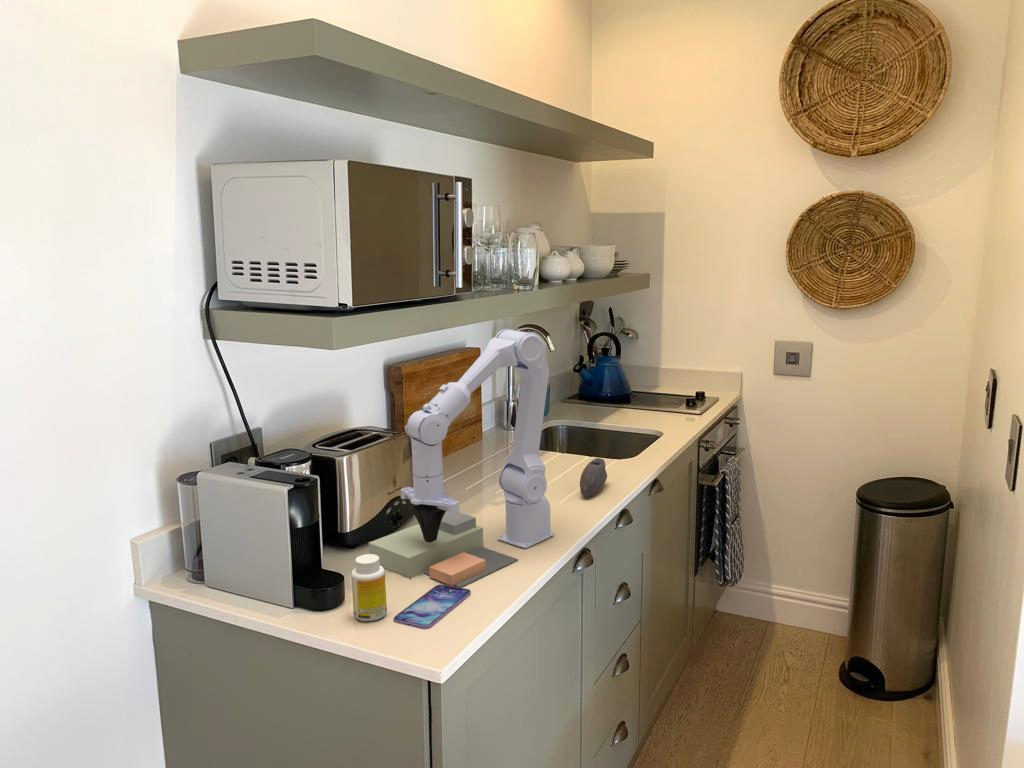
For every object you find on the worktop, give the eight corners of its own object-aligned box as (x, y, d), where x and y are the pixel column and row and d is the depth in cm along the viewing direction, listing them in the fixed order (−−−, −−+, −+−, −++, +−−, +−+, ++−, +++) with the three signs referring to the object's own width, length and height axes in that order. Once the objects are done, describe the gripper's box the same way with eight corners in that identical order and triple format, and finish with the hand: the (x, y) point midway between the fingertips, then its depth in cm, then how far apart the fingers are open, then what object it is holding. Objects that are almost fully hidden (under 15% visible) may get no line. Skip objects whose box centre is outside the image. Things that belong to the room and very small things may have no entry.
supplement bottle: (393, 615, 135) (390, 558, 133) (364, 626, 131) (361, 568, 129) (375, 604, 139) (372, 549, 137) (347, 614, 135) (344, 558, 134)
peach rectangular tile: (485, 560, 151) (485, 569, 152) (463, 552, 155) (463, 561, 156) (451, 575, 145) (451, 585, 145) (429, 566, 149) (429, 576, 149)
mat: (481, 548, 163) (481, 546, 163) (518, 560, 156) (518, 559, 156) (423, 573, 151) (423, 572, 151) (460, 588, 145) (460, 586, 145)
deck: (443, 532, 172) (442, 514, 171) (483, 546, 164) (482, 527, 163) (369, 561, 157) (368, 542, 156) (409, 578, 149) (408, 558, 149)
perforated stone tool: (593, 502, 189) (593, 474, 188) (572, 500, 191) (571, 472, 190) (610, 484, 203) (610, 457, 201) (590, 482, 205) (590, 456, 203)
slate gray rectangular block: (424, 525, 165) (424, 515, 165) (445, 517, 170) (445, 508, 169) (455, 535, 159) (454, 525, 159) (475, 526, 164) (475, 517, 163)
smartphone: (390, 619, 133) (438, 583, 146) (391, 624, 133) (438, 588, 146) (428, 626, 129) (473, 589, 143) (428, 632, 130) (473, 594, 143)
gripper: (387, 471, 154) (390, 537, 156) (438, 485, 144) (441, 556, 147) (414, 463, 159) (417, 527, 162) (466, 476, 149) (468, 544, 152)
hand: (430, 540), depth 155 cm, fingers closed
